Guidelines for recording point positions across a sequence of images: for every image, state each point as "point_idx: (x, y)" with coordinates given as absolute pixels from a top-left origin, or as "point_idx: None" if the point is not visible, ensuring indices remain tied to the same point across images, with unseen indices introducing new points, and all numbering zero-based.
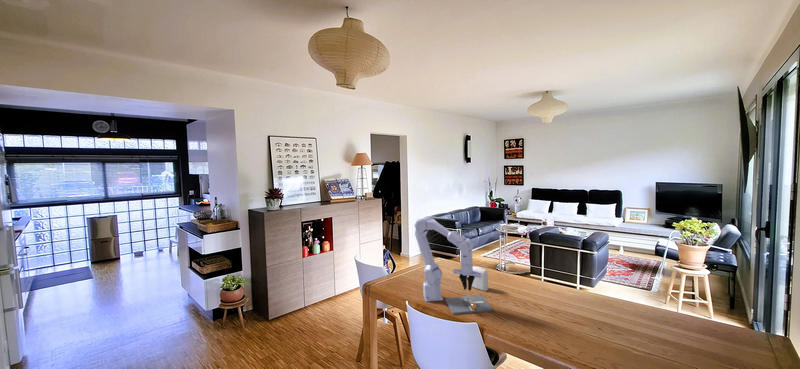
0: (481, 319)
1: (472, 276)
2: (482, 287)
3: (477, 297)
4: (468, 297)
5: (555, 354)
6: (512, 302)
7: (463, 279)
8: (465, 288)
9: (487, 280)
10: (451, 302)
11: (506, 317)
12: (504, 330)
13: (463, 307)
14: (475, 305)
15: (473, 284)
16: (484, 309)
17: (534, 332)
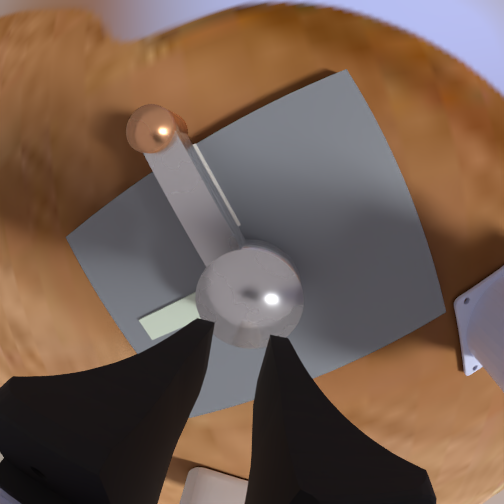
0: (120, 79)
1: (8, 482)
2: (208, 481)
3: (206, 390)
4: (240, 297)
5: None
6: (40, 361)
7: (287, 455)
8: (266, 352)
9: None
10: (398, 257)
11: (14, 178)
12: (25, 44)
13: (279, 187)
14: (131, 121)
15: None
16: (108, 208)
17: None
